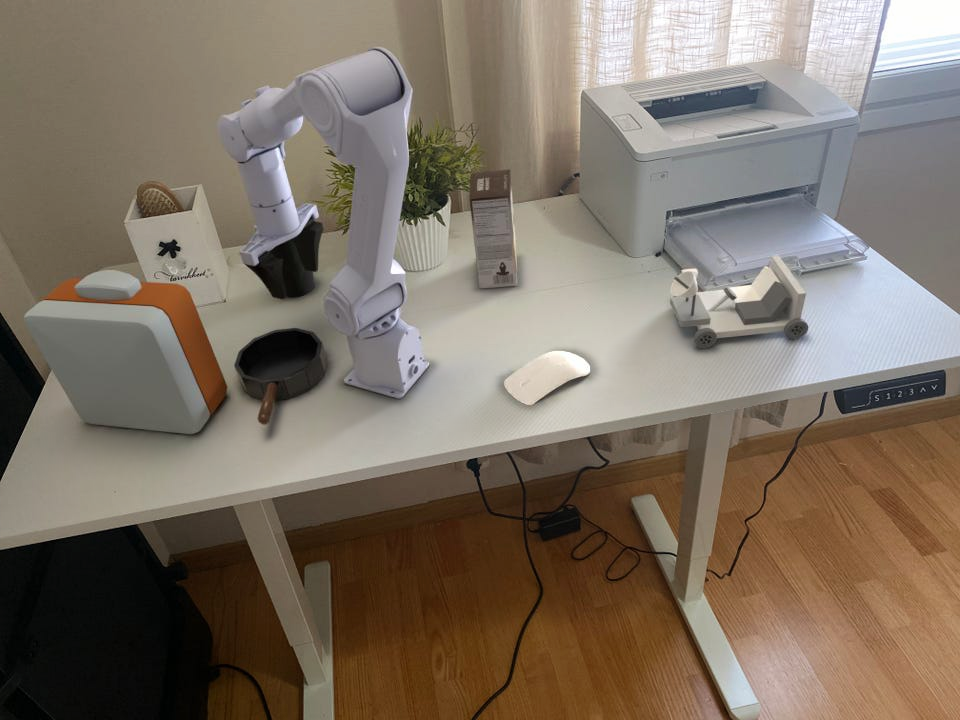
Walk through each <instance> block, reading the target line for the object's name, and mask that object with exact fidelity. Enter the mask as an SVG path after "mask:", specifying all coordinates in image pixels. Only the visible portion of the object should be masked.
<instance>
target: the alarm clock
mask: <svg viewBox="0 0 960 720" xmlns="http://www.w3.org/2000/svg"><path fill="white" fill-rule="evenodd" d="M23 321H24V322H23V323H24V325H25V328H26V329H27V331H28V332H29V334H30V335H31V337H32V338H33V341H34V342H35V344H36V346H37V347H38V350H39V351H40V352H41V354H42V356H43V358H44V359H45V361H46V363H47V365H48V366H49V368H50V369H51V371H52V373H53V374H54V376H55V378H56V380H57V381H58V383H59V385H60V386H61V388H62V390H63V392H64V393H65V395H66V397H67V398H68V400H69V401H70V404H71V405H72V407H73V409H74V410H75V412H76V414H77V415H78V417H79V419H81V420H82V421H83V422H85V423H88V424H90V425H97V426H107V427H115V428H116V427H118V428H127V429H137V430H147V431H155V432H166V433H167V432H168V433H176V434H184V435H193V434H197V433H199V432H200V431H201V430H202V429H203V427H204V426H205V424H206V423H207V422H208V421H209V419H210V417H211V416H212V415H213V413H214V412H215V411H216V410H217V408H218V407H219V405H220V404H221V403H222V401H223V400H224V399H225V397H226V396H227V394H228V393H227V392H228V385H227V382H226V379H225V377H224V374H223V371H222V369H221V367H220V364H219V362H218V359H217V357H216V354H215V352H214V349H213V347H212V344H211V342H210V339H209V337H208V334H207V332H206V328H205V327H204V324H203V322H202V319H201V317H200V314H199V312H198V310H197V307H196V305H195V301H194V299H193V297H192V294H191V292H190V291H189V290H188V288H187V287H186V286H184V285H182V284H179V283H174V282H155V281H154V282H153V281H140V280H139V279H138V278H137V277H135V276H134V275H131V274H129V273H127V272H123V271H120V270H116V269H104V270H99V271H94V272H92V273H90V274H88V275H85V276H84V277H83V278H76V277H75V278H74V277H73V278H68V279H66V280H64V281H63V282H61V283H60V284H59V285H57V287H55V288H54V289H53V290H52V291H50V292H49V293H48V294H47V295H46V296H45V297H44V298H42V299H41V300H40V301H39V302H38V303H36V304H35V305H34V306H33V307H32V308H30V309H29V310H28V311H27V312H26V313H24V317H23Z"/></svg>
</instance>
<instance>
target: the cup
mask: <svg viewBox="0 0 960 720" xmlns="http://www.w3.org/2000/svg"><path fill="white" fill-rule="evenodd" d="M269 252H270V255H271V254H272V255H273V257H275V258H280V259H283V263H282V275H283V281H284V285H285V289H286V298H299V297H304V296H306V295H308V294H309V293H311V292H312V291H313V290H314V289H315V287H316V284H315V283H316V282H315V278H314V272H312V271H307V270H305V269H304V267H303V265H302V263H301V260H300V257H299V254H298V251H297V248H296V246H295V244H294V242H293V240H292V239H290V240H288V241H286V242H283V243H281V244H279V245H277V246H275V247H274V248H273V249H272V250H270V251H269Z"/></svg>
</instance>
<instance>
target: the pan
mask: <svg viewBox="0 0 960 720" xmlns="http://www.w3.org/2000/svg"><path fill="white" fill-rule="evenodd" d="M327 362H328V358H327V355H326V352H325V348H324V344H323V341H322V340H321V339H320V338H319V337H318V336H317V334H316V333H315V332H313V331H310V330H305V329H303V328H300V327H299V328H298V327H291V328H282V329H280V328H279V329H274V330H271V331H269V332H266V333H264V334H261V335H259V336H257V337H254V338H252V339H251V340H250V341H249V342H248V343H247V344H245V345H244V346H243V347H242V348H241V349H240V350H239V351H238V353H237V355H236V359H235V361H234V365H233V367H234V369H235V372H236V375H237V377H238V380H239V382H240V384H241V385H242V387H243V389H244V391H245V392H246V393H247V394H248V395H249V396H250V397H252V398H253V399H257V400H261V405H260V408H259V411H258V415H257V421H258V423H259V424H260V425H268V423H270V421H271V418H272V414H273V410H274V406H275V402H277V401H284V400H290V399H292V398H296V397H298V396H301V395H303V394H305V393H307V392H308V391H310V390H311V389H313V388H314V387H315V386H317V385H318V384H319V383H320V382H321V380H322V379H323V377H324V376H325V373H326V372H327V368H328V364H327Z"/></svg>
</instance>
